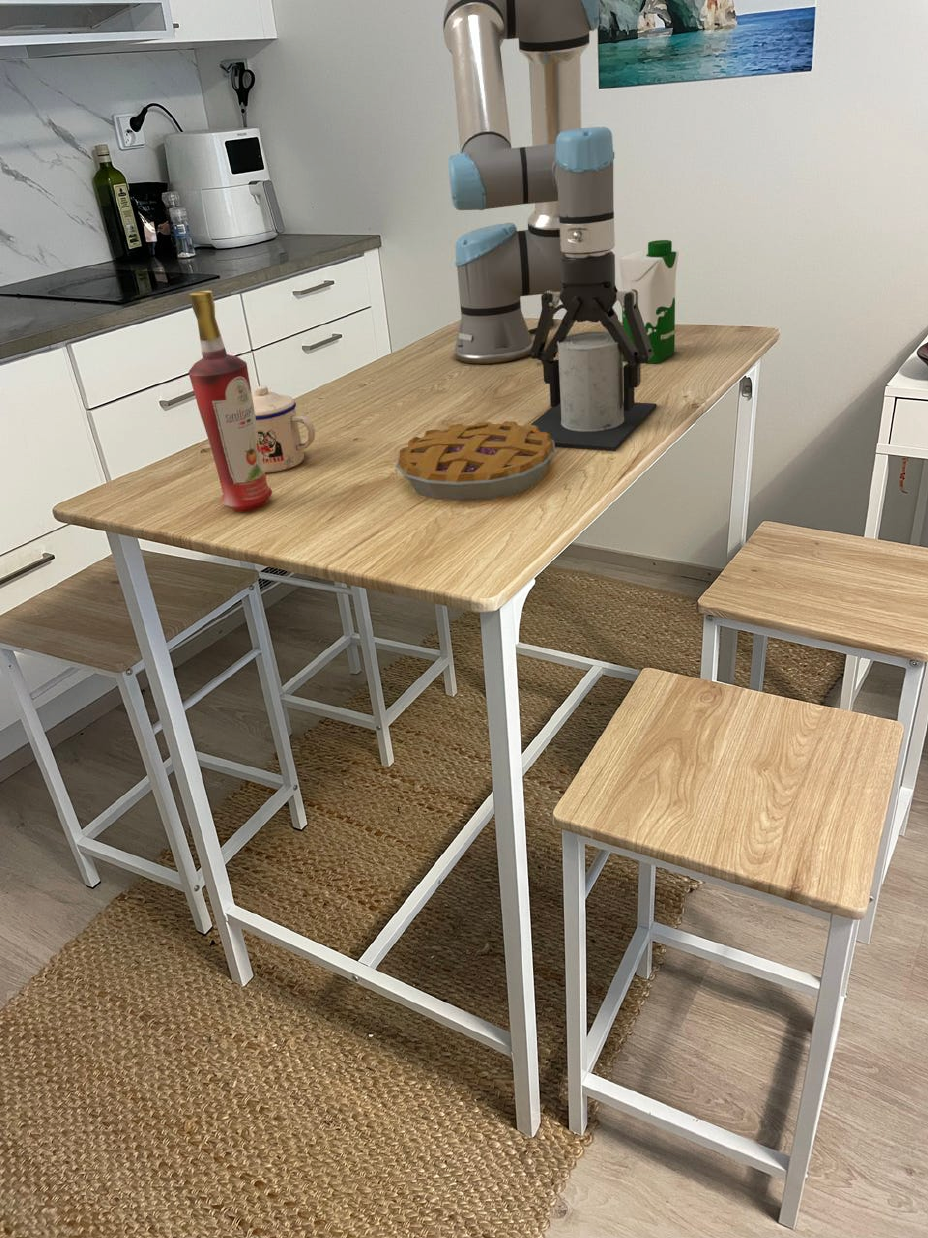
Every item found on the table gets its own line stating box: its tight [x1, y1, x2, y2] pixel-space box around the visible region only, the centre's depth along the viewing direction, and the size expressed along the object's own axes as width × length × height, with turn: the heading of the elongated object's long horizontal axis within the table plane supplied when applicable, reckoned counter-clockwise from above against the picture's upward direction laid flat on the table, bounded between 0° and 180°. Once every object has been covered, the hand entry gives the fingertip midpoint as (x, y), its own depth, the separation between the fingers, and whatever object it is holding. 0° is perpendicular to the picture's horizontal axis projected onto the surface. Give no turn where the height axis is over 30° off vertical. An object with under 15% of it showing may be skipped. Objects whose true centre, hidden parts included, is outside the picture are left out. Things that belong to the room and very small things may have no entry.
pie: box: [395, 420, 556, 502], centre depth 129 cm, size 22×22×5 cm
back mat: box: [529, 401, 658, 452], centre depth 144 cm, size 20×16×1 cm
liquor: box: [188, 290, 273, 513], centre depth 122 cm, size 7×7×28 cm
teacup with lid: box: [252, 385, 316, 473], centre depth 139 cm, size 12×9×12 cm
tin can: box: [557, 331, 624, 432], centre depth 140 cm, size 10×10×12 cm
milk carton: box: [618, 239, 679, 364], centre depth 168 cm, size 9×9×20 cm
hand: (592, 406), depth 142 cm, fingers open, 11 cm apart
